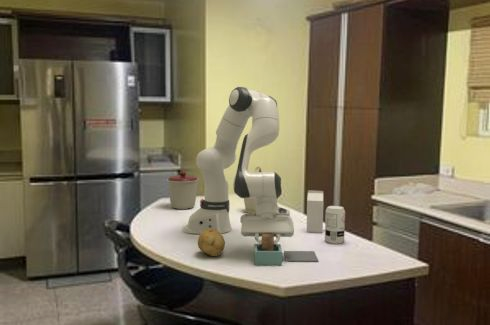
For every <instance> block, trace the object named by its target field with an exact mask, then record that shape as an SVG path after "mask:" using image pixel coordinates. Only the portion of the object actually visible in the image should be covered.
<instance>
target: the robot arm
mask: <svg viewBox="0 0 490 325" xmlns="http://www.w3.org/2000/svg"><path fill="white" fill-rule="evenodd" d="M250 118H251V120H252V121H251V125H252V126H251V128H250V131H249V132H248V133H247V134H245V135H244V137H243V139H242V143H241V148H240V152H239V153H240V154H239V158H238V164H237V169H236V174H235V176H234V180H233V184H232V186H233V187H232V188H233V193H234V194H235V195H236V196H237V197H239V198H240V199H244V198H249V197H256V202H257V204H256V214H250V213H244V214H242V215H241V216H240V224H241V227H240V234H241V236H242V237H254V239H255V241H256V242H257V244H258V246H262V239H260V237H261V238H262V234H263V233H272V234H274V238H275V237H276V238H275V239H274V246H278V244H279V242H280V240H281V238H291V237H294V234H295V226H294V222H293V218H292V217H291V212H290V210H289V209H288V208H283V207H281V206H279V205H278V199H279V198H280V197H281V195H282V177H280V175H279V174H278V173H277V172H275V171H263V172H262V171H261V172H255V171H251V172H250V171H248V170H249V169H248V168H249V164H250V159H251V155H252V154H253V152H255V151H257V150H258V149H260V148H264V147H267V146H269V145H271V144H272V143H274V142H275V141H276V140H277V139H278V137H279V134H280V115H279V108H278V102H277V100H276V99H275V98H274V97H272V96H270V95H267V94H265V93H263V92H260V91H258V90H255V89H254V90H253V89H249V88H247V87H245V86H236V87H235V88H234V89H233V90H231V92H230V95H229V97H228V106H227V108H226V110H225V111H224V113H223V115H222V117H221V119H220V121H219V124H218V127H217V128H216V131H215V135H216V138H215V143H214V144H213V145H214V146H212V147H207V148H204V149H203V150H201V151H199V152H198V154H197V155H196V157H195V162H196V166H197V168H198V169H199V170H200V172H201V175H202V179H203V184H204V199H203V198H202V199H200V200H199V207H200V208H199V209H197V210H196V211H195V212H193V213H192V214H191V215H190V217H189V218H188V222H187V224H186V225H185V226H183V229H182V231H183V233H185V234H198V235H200V234H201V233H202V232H204V231H206V230H209V229H213V230H216V231H218V232H220V233H221V234H224V233H229V232H231V231H232V230H233V229H232V228H233V227H232V226H231V221H230V219H231V218H230V200H229V182H228V181H227V179H226V177H225V172H224V170H226V169H228V168H230V167H231V166H232V165H234V163H235V161H236V160H237V159H236V158H237V154H236V153H237V147H238V143H239V141H240V138H241V136H242V134H243V132H244V130H245V128H246V126H247V123H248V121H249V119H250Z"/></svg>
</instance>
